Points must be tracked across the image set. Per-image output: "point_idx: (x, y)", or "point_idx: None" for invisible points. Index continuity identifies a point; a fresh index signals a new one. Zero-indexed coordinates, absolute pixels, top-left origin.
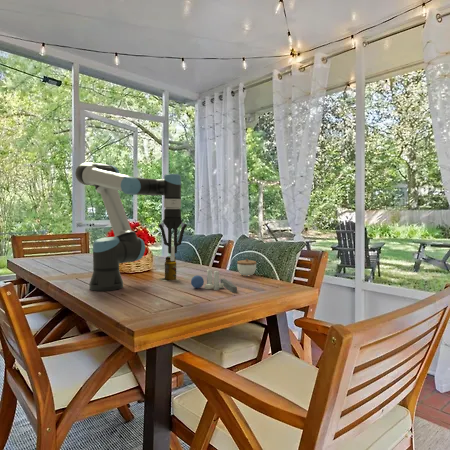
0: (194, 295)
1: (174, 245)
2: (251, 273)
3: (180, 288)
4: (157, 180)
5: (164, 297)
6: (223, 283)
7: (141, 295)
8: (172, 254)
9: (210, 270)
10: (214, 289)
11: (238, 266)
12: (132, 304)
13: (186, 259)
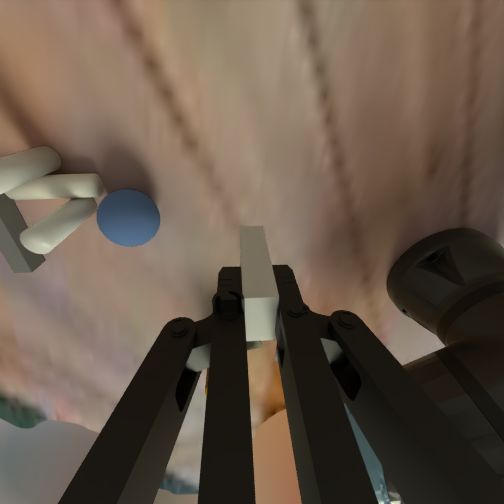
0: (151, 60)
1: (243, 314)
2: None
3: (207, 217)
4: None
5: (298, 58)
6: (18, 228)
7: (377, 131)
8: (259, 251)
9: (28, 229)
10: (55, 153)
11: None
12: None
13: (169, 486)
